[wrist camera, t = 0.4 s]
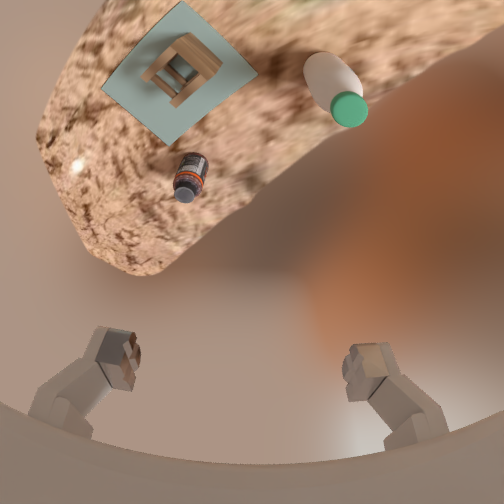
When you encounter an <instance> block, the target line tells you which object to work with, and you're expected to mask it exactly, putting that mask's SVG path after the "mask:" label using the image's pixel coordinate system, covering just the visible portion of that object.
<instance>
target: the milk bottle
mask: <svg viewBox="0 0 504 504" xmlns="http://www.w3.org/2000/svg"><path fill="white" fill-rule="evenodd" d="M303 74H304V78H305V80H306V83H307V85H308V88H309V90H310V92H311V95H312V97H313V99H314V100H315V102H316V103H317V104H318V105H319V106H320V107H321V108H322V109H323V110H325V111H327V112H329V113H331V114H332V116H333V118H334V120H335V121H336V122H337V123H338V124H340V125H342V126H344V127H356V126H358V125H360V124H361V123H363V122H364V120H365V119H366V117H367V114H368V107H367V104H366V102H365V101H364V99H363V98H362V96H363V90H362V85H361V83H360V80H359V79H358V77H357V76H356V74H355V73H354V72H353V71H352V70H351V69H350V68H349V67H348V66H347V65H346V64H345V63H344V62H343V61H342V60H341V59H340V58H339V57H337V56H336V55H334V54H332V53H328V52H319V53H315V54H313V55H312V56H310V57H309V58H308V59H307V60H306V62H305V64H304V67H303Z"/></svg>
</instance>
